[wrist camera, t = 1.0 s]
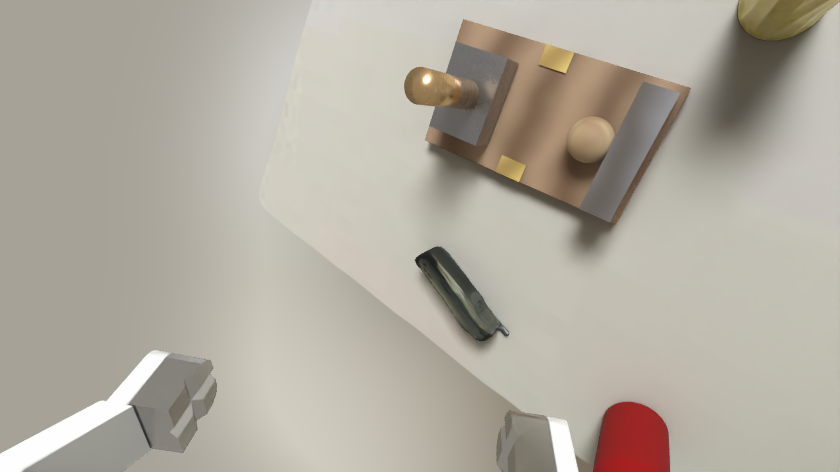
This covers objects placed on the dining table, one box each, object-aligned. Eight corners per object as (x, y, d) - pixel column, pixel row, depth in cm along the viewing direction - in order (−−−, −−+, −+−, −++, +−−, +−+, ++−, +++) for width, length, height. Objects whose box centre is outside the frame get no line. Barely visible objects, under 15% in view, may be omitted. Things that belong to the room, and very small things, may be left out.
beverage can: (593, 424, 51) (576, 498, 41) (622, 386, 48) (612, 455, 38) (647, 461, 49) (644, 549, 38) (681, 423, 46) (688, 507, 36)
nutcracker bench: (689, 89, 39) (695, 82, 33) (617, 220, 45) (610, 234, 39) (470, 23, 48) (443, 8, 42) (432, 139, 53) (403, 141, 47)
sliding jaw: (518, 63, 44) (468, 39, 32) (487, 144, 47) (432, 149, 36) (469, 47, 46) (406, 19, 34) (443, 126, 49) (377, 125, 38)
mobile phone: (409, 262, 54) (483, 357, 51) (423, 249, 52) (501, 346, 49) (427, 253, 58) (497, 341, 55) (441, 240, 56) (514, 329, 53)
